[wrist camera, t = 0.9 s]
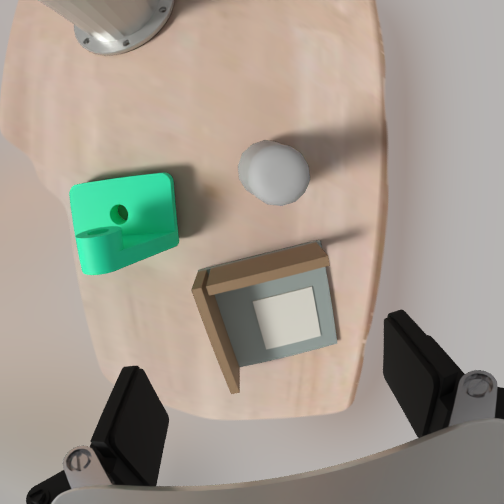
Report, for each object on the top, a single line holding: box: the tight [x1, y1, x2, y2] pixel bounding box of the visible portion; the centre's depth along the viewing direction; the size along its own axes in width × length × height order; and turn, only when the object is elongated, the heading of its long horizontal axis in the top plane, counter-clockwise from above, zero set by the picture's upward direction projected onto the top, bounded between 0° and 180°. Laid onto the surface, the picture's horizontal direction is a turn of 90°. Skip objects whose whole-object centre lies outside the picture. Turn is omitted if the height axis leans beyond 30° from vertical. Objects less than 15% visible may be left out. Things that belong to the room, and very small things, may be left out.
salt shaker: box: [238, 140, 310, 206], centre depth 26 cm, size 6×6×13 cm
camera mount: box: [69, 172, 179, 275], centre depth 28 cm, size 12×8×10 cm, turn 93°
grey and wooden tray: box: [192, 240, 337, 394], centre depth 34 cm, size 14×14×6 cm
